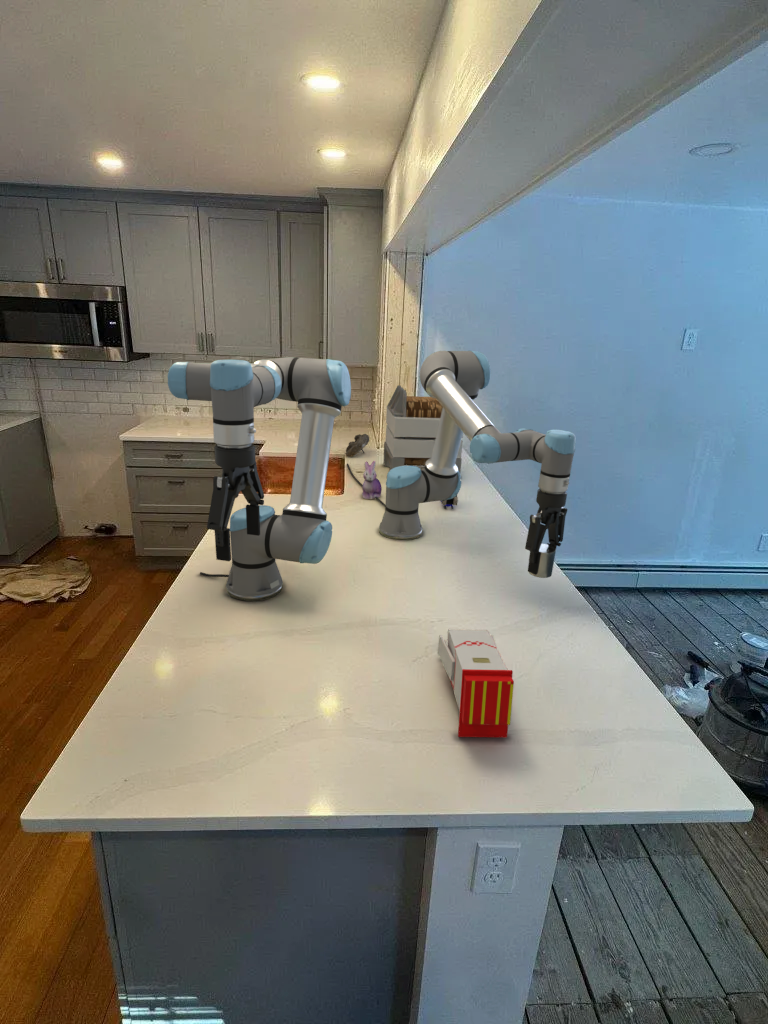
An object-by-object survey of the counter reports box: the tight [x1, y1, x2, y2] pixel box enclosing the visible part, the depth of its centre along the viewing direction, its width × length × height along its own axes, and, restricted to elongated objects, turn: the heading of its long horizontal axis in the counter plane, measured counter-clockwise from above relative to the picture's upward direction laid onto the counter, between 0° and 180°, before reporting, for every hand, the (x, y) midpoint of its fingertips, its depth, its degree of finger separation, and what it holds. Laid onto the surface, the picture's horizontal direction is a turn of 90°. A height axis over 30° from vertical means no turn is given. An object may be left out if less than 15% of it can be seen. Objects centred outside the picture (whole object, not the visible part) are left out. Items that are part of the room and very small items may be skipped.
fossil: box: [345, 433, 370, 458], centre depth 306 cm, size 22×10×15 cm
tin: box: [528, 543, 557, 579], centre depth 156 cm, size 6×6×8 cm
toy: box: [437, 628, 515, 738], centre depth 117 cm, size 12×13×30 cm
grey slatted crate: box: [383, 384, 464, 475], centre depth 268 cm, size 34×33×41 cm
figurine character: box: [440, 494, 459, 510], centre depth 230 cm, size 7×8×15 cm
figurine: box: [361, 460, 383, 500], centre depth 235 cm, size 9×10×15 cm
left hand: (239, 546), depth 115 cm, fingers open, 13 cm apart
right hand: (540, 569), depth 156 cm, fingers closed on tin, 6 cm apart
